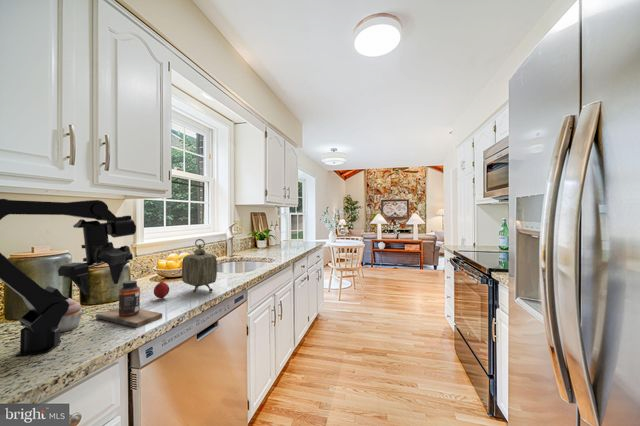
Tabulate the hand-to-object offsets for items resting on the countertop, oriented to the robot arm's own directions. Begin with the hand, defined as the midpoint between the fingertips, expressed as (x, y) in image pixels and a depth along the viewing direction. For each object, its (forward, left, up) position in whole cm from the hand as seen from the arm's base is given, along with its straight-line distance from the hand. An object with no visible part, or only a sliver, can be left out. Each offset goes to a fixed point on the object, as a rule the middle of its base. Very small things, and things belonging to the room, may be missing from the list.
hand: (102, 289), depth 83 cm
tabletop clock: (+25, +36, -13) cm, 45 cm away
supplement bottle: (+5, +8, -11) cm, 15 cm away
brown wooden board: (+5, +8, -13) cm, 16 cm away
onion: (+11, +29, -13) cm, 33 cm away
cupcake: (-11, +5, -13) cm, 18 cm away
